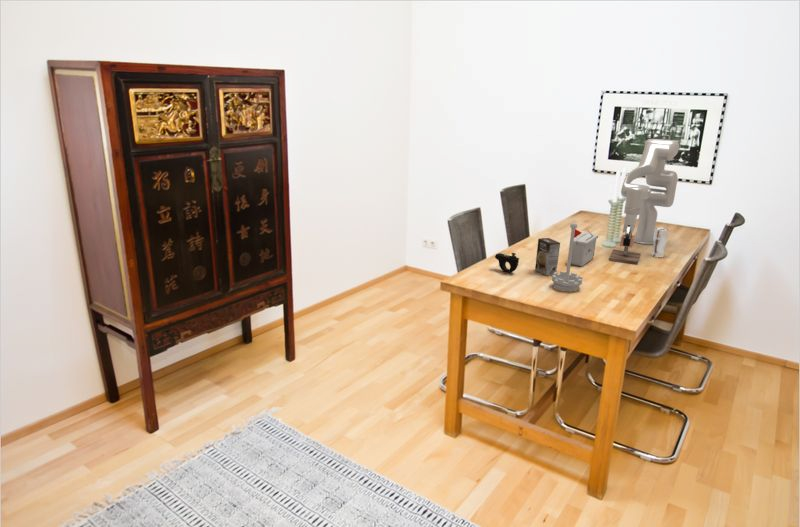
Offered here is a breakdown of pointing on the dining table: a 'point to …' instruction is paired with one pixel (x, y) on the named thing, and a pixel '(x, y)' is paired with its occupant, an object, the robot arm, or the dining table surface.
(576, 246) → the stereo radio cassette player
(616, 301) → the dining table surface
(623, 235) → the bead
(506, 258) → the controller
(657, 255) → the beer glass
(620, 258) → the brown peg stand
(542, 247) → the coffee box
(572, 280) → the flag stand
